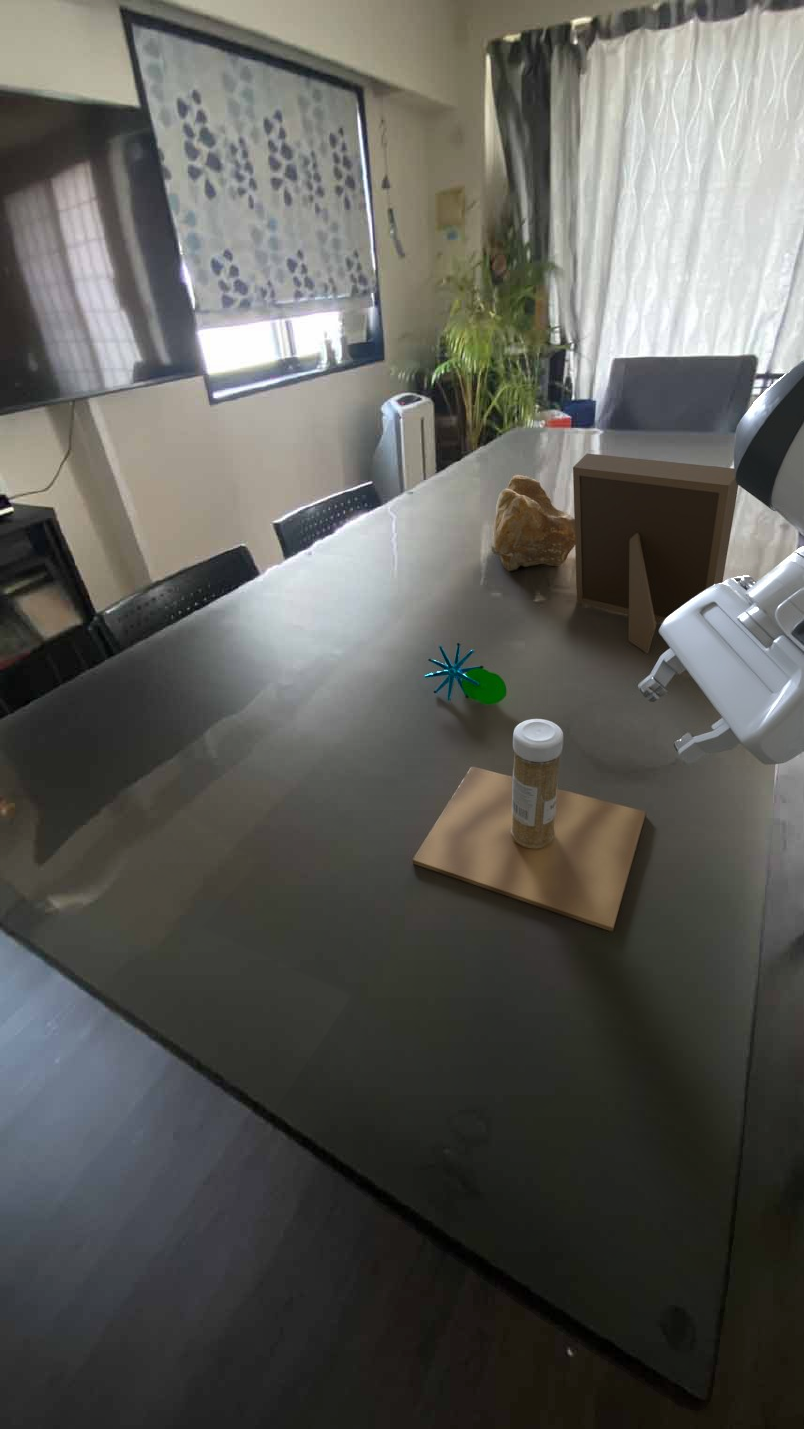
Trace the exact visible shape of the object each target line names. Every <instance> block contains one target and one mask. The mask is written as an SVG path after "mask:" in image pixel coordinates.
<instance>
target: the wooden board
mask: <svg viewBox="0 0 804 1429" xmlns="http://www.w3.org/2000/svg"><path fill="white" fill-rule="evenodd" d="M512 788H513V776H511V775H507V774H503V773H499V772H494V771H492V770H488V769H484V768H480V767H476V766H471V767H470V768H469V770H468V771H467V773H466V774H465V776H464V777H463V779H462V781H461V782H460V784H459V785H458V787H457V789H456V790H455V792H454V793H453V795H452V796H451V798H450V799H449V801H448V802H447V804H446V806H445V807H444V809H443V811H442V813H441V814H440V816H439V817H438V819H437V820H436V821H435V824H433V826H432V828H431V830H430V831H429V833H428V834H427V836H426V838H425V839H424V841H423V842H422V844H421V846H420V847H419V849H418V851H417V852H416V854H414V856H413V858H412V864H413V865H416V866H418V867H421V868H424V869H427V870H430V871H433V872H436V873H439V874H442V875H444V876H448V877H450V878H454V879H457V880H459V881H462V882H465V883H468V884H471V885H474V886H477V887H480V888H483V889H485V890H489V891H492V892H495V893H497V894H500V895H503V896H506V897H509V898H512V899H515V900H518V901H521V902H523V903H527V904H529V905H532V906H535V907H539V908H541V909H544V910H547V911H550V912H553V913H555V914H559V915H562V916H564V917H567V918H570V919H573V920H576V921H579V922H582V923H585V924H587V925H591V926H594V927H597V928H599V929H603V930H606V931H609V932H611V933H613V932H614V929H615V925H616V921H617V918H618V914H619V911H620V908H621V905H622V900H623V897H624V894H625V890H626V886H627V882H628V879H629V876H630V872H631V869H632V865H633V862H634V858H635V854H636V851H637V848H638V844H639V841H640V836H641V833H642V829H643V826H644V822H645V820H646V815H647V812H646V811H644V810H640V809H636V808H632V807H629V806H625V805H622V804H617V803H614V802H610V801H605V800H602V799H598V798H594V797H590V796H586V795H583V794H579V793H575V792H572V791H568V790H564V789H559V788H557V798H556V813H555V818H554V831H555V833H554V838H553V840H552V842H550V844H548V845H546V846H545V847H543V848H539V849H532V848H526V847H523V846H521V845H520V844H518V843H517V842H516V841H515V840H514V839H513V837H512V836H511V826H512V815H513V813H512Z"/></svg>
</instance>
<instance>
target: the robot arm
mask: <svg viewBox="0 0 804 1429" xmlns="http://www.w3.org/2000/svg"><path fill="white" fill-rule="evenodd" d="M733 468H734V471H735V479H736V483H737V484H738V487H740V488H742V489H743V490H744V491H746V492H747V493H749V494H750V495H751V496H752V497H754V498H755V499H757V500H758V501H759V502H760V503H762V504H763V505H764V506H766V507H767V508H769V510H771V511H773V512H777V513H778V514H779V516H781V517H782V518H783V519H784V520H786V522H787V523H789V525H791V527H793V528H794V529H795V530H796V531H797V532H798V533H799V534H801V535H802V537H804V359H802V360H801V361H800V362H798V364H796V365H795V366H793V368H791V369H790V370H789V371H787V372H786V373H785V374H784V375H783V376H781V377H779V379H777V380H776V381H775V382H774V383H773V384H771V386H769V387H768V388H767V389H766V390H764V392H763V393H762V394H761V395H759V397H758V398H757V399H756V400H755V401H754V402H753V404H752V405H751V406H750V407H749V408H748V410H747V411H746V412H745V413H744V415H743V416H742V417H741V419H740V421H739V422H738V424H737V425H736V429H735V434H734V440H733ZM658 634H659V635H660V636H661V638H662V639H663V640H664V641H665V643H666V644H667V646H668V647H669V648H668V649H667V650H666V651H664V652H663V653H662V654H661V655H660V656H659V658H658V659H657V662H656V663H655V665H654V666H653V668H652V670H651V672H650V674H649V675H648V676H647V677H645V678H644V679H643V680H641V681H640V682H639V683H638V685H637V687H638V690H639V691H640V693H641V694H642V697H644V698H645V699H646V700H648V701H649V703H655V702H657V701H658V700H659V698H661V697H663V696H664V695H665V694H667V693H668V691H667V688H666V687H667V685H668V684H669V682H670V681H671V680H672V678H673V677H674V675H676V674H678V675H681V674H682V673H683V672H684V671H687V672H688V674H689V675H690V676H691V678H692V679H693V681H695V682H694V683H695V684H697V686H698V687H699V688H700V690H701V691H702V692H703V694H704V695H705V696H706V698H707V699H708V700H709V702H710V703H711V704H712V706H713V707H714V709H715V710H716V711H717V712H718V714H719V716H721V718H720V719H718V721H716V722H714V723H713V724H712V725H711V729H712V730H711V731H709V732H706V733H705V732H704V733H703V734H702V733H701V734H699V735H695V736H694V735H692V733H691V732H689V731H688V732H686V733H685V734H684V735H683V736H682V737H681V738H680V739H678V740H676V741H674V743H673V748H674V750H675V752H676V753H677V755H678V757H679V758H680V759H682V761H684V763H686V764H687V765H691V764H692V765H693V764H694V763H696V762H698V761H699V760H701V758H703V757H705V756H706V755H711V754H716V753H722V752H726V751H732V750H734V749H735V748H737V747H739V746H741V745H742V746H743V747H744V748H745V749H747V751H748V752H749V753H750V754H751V755H752V756H753V757H755V758H756V759H757V760H758V761H759V762H760V763H762V764H764V765H766V766H767V765H771V766H772V765H779V764H780V765H781V764H784V763H787V762H789V761H792V760H793V759H794V758H796V757H798V756H799V755H801V754H802V753H804V545H802V546H801V547H799V548H797V549H795V551H793V552H792V553H790V555H788V556H787V557H786V558H785V559H783V560H782V561H781V562H780V563H778V564H777V565H776V566H775V567H774V568H772V569H771V570H770V571H769V572H767V573H765V575H764V576H762V577H761V578H760V579H758V580H756V579H755V578H754V577H752V576H750V575H748V574H745V575H742V576H736V577H728V578H727V579H725V580H723V582H722V583H718V584H715V585H713V586H711V587H709V588H707V589H706V590H704V591H702V592H701V593H699V594H698V595H696V596H695V597H693V598H692V599H691V600H689V601H688V602H686V603H685V604H684V605H682V606H681V607H680V608H678V609H677V610H676V611H674V612H673V613H672V614H670V615H669V616H668V617H667V618H666V619H665V620H664V621H663V623H661V624H660V626H659V628H658Z"/></svg>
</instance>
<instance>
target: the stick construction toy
mask: <svg viewBox="0 0 804 1429" xmlns="http://www.w3.org/2000/svg"><path fill="white" fill-rule="evenodd" d="M461 646H462V645H461V643H460V642H457V643H456V650H455V655H454V660H453V663H452V661H451V660H450V658H449V657H448V655H447V653H446V652H445V649H444V647H443V645H438V649H439V652H440V654H441V656H442V658H443V660H444V663H445V664H444V663H442V662H440V661H437V660H435V659H432V658H428V659H427V661H428V662H430V663H432V664H434V665H435V666H437V667H439V668H441V669H442V670H441V671H436V672H433V673H429V674H428V673H427V674H425V675H424V676H423V678H425V679H430V678H438V677H445V679H444V680H443V681H442V682H441V683H440V684H439V685H438V687H436V689H435V690H433V694H438V693H439V692H440V691H441V690H442V689H443V688H444V687H445V686H446V685H447V684H448V686H447V697H446V701H448V702H451V701H452V699H451V698H452V693H453V687H454V683H455V681H456V682H457V684H458V686H459V688H460V689H461V691H462V693H463V695H464V698H465V699H471V700H473V701H477V702H479V703H481V704H483V705H489V706H490V705H495V704H498V703H500V702H501V701H502V700H504V698H506V696H507V686H506V683H505V681H504V679H503V678H502V677H501V675H499V674H497V673H496V672H491V671H489V670H487V669H485V667H484V665H477V666H470V667H463V665H465V663H466V662H467V661H468V659H469V658H470V657H471V656H472V655H473V654H475V652H476V650H474V649H470V650H469V652H467V654H466V655H464V656H463V657H462V658H461V659H460V655H461ZM462 667H463V668H462Z"/></svg>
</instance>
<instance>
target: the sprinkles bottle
mask: <svg viewBox="0 0 804 1429" xmlns="http://www.w3.org/2000/svg"><path fill="white" fill-rule="evenodd" d="M512 734H513V735H512V749H513V755H514V756H513V769H512V777H513V788H512V813H513V815H512V826H511V836H512V837H513V839H514V840H515V841H516V842H517V843H518V844H520V845H521V846H523V847H526V848H532V849H539V848H543V847H545V846H546V845H548V844H550V842H552V840H553V838H554V833H555V831H554V818H555V813H556V798H557V789H558V784H559V768H560V767H559V766H560V755H561V754H562V752H563V746H564V733H563V730H562V728H561V727H560V726H559V725H558V724H556V723H555V722H553V721H550V720H548V719H542V718H531V719H526V720H524V721H522V722H520V723H518V724H517V725H516V726H515V727H514V729H513V733H512Z"/></svg>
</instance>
